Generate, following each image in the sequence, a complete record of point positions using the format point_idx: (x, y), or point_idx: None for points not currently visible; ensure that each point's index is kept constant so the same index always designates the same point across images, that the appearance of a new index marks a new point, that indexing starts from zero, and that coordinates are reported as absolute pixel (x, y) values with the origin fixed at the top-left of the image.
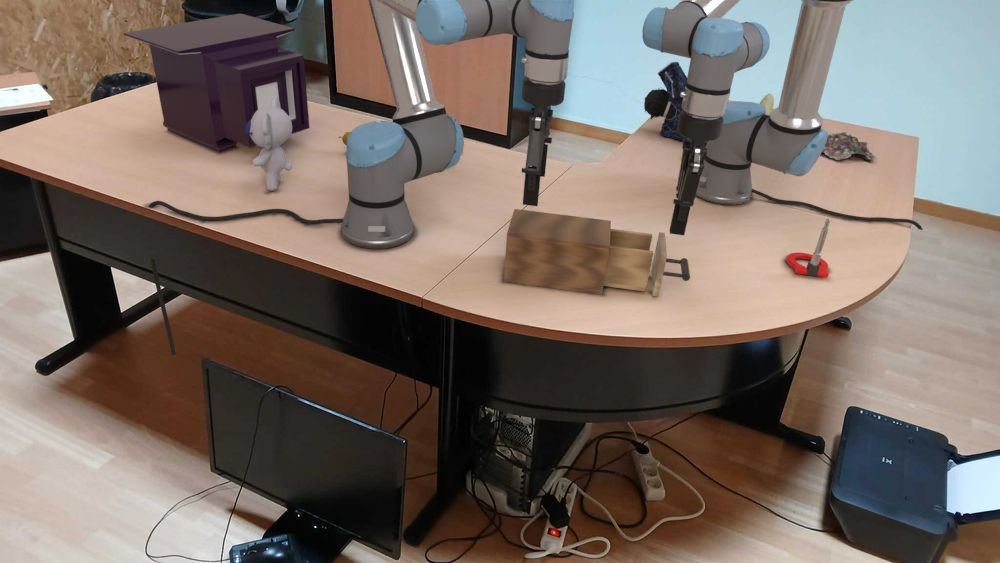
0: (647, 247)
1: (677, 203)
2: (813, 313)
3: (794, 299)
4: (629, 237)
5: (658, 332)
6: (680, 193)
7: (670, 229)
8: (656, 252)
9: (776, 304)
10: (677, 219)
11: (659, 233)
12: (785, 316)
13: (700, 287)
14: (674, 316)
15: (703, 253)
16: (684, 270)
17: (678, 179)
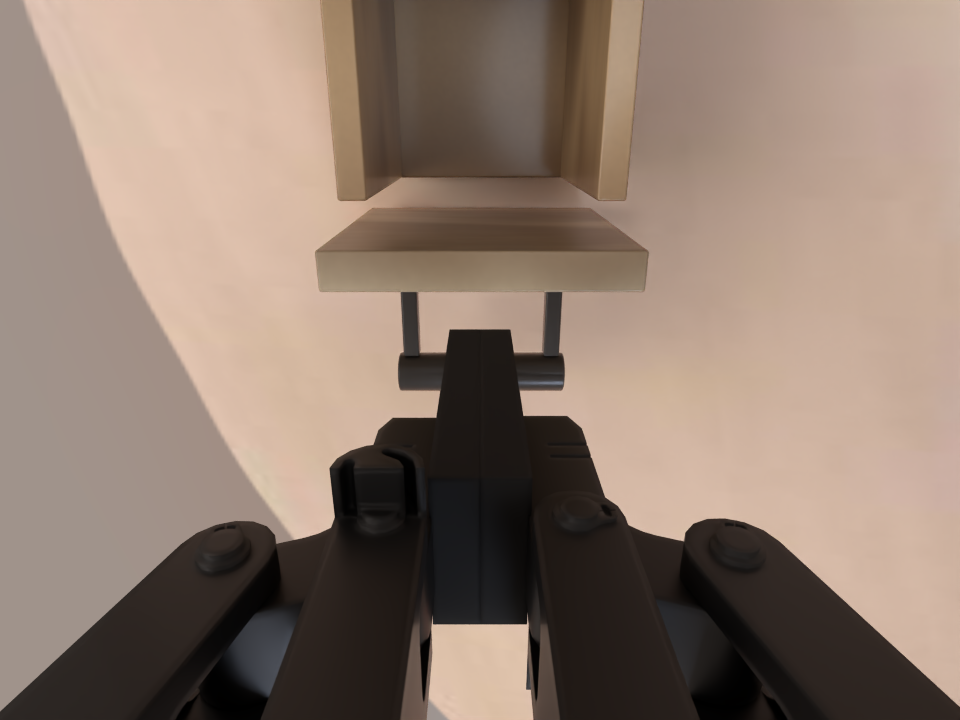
0: (580, 174)
1: (345, 499)
2: (451, 708)
3: (520, 676)
4: (602, 26)
5: (133, 227)
6: (293, 631)
7: (464, 339)
8: (546, 231)
9: (475, 628)
10: (387, 425)
11: (628, 253)
12: None
13: (529, 409)
14: (277, 297)
15: (813, 441)
16: (436, 370)
17: (856, 653)
